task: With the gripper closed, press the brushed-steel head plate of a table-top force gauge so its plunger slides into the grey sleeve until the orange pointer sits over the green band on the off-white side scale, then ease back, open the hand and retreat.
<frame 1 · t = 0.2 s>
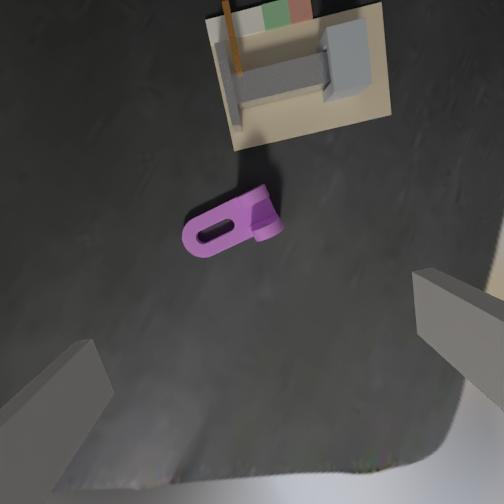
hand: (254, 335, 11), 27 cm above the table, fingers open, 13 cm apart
bracket: (228, 223, 38), on the table
plunger: (280, 58, 30), point 3 cm above the table, slide at 0.0 cm
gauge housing: (215, 102, 34), on the table
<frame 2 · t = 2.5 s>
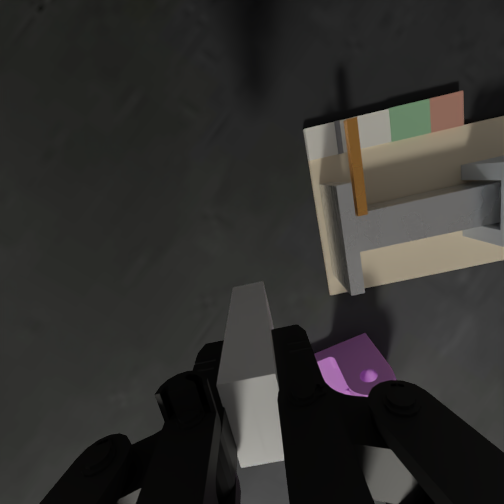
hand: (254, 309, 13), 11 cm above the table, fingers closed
bracket: (313, 377, 28), on the table
plunger: (420, 191, 20), point 3 cm above the table, slide at 0.0 cm
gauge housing: (308, 234, 24), on the table
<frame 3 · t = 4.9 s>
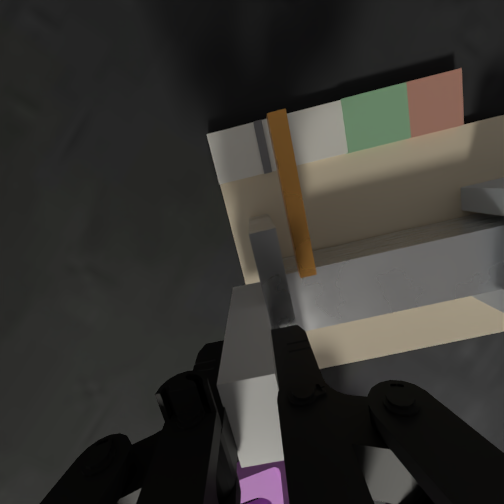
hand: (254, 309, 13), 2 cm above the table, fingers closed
bracket: (259, 482, 20), on the table
plunger: (406, 233, 12), point 3 cm above the table, slide at 0.6 cm, touching gripper
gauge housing: (230, 292, 16), on the table
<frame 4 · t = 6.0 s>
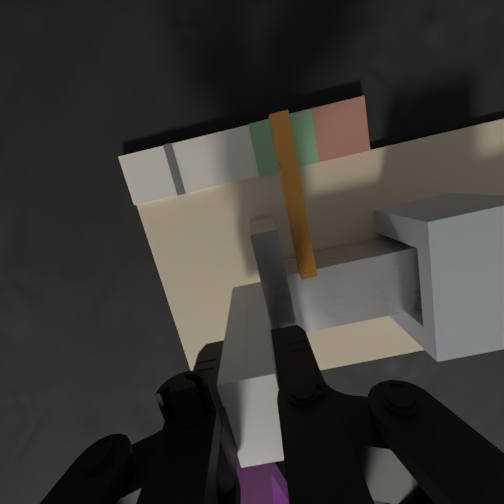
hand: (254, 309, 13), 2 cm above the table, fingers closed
bracket: (197, 494, 20), on the table
plunger: (407, 235, 12), point 3 cm above the table, slide at 5.1 cm, touching gripper
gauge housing: (155, 309, 16), on the table
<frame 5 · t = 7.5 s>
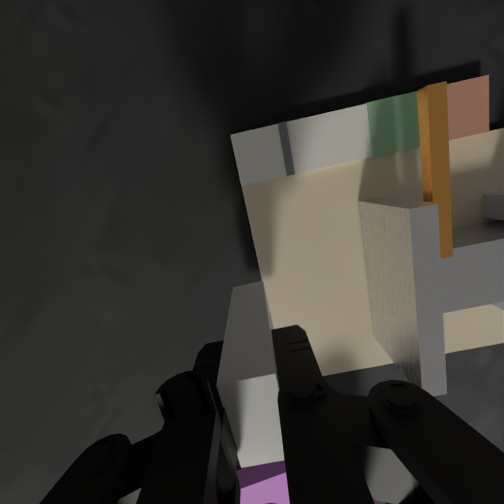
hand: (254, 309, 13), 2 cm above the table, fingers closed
bracket: (269, 487, 20), on the table
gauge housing: (247, 294, 16), on the table
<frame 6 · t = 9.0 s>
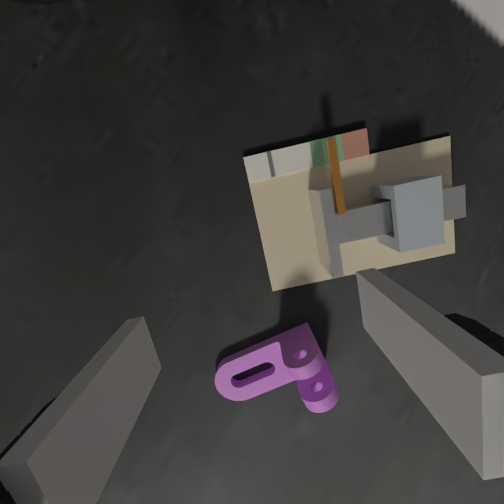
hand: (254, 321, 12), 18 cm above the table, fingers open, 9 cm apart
bracket: (266, 360, 33), on the table
plunger: (388, 195, 25), point 3 cm above the table, slide at 5.2 cm
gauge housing: (252, 240, 29), on the table
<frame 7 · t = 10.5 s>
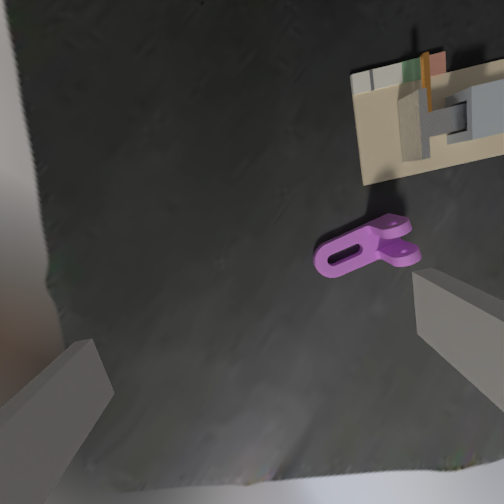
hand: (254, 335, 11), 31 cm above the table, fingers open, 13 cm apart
bracket: (352, 247, 42), on the table
plunger: (462, 100, 34), point 3 cm above the table, slide at 5.2 cm
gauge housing: (350, 144, 38), on the table
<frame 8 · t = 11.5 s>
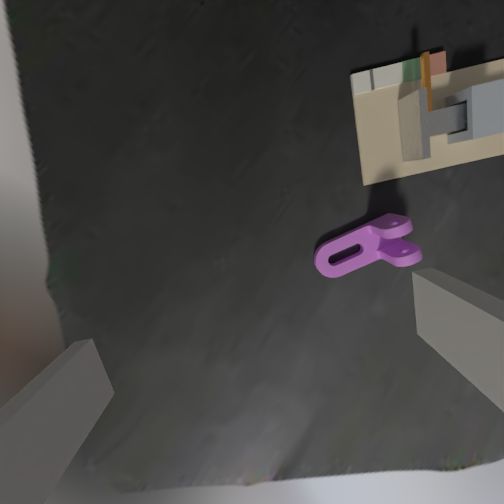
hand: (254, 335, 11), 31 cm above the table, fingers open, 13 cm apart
bracket: (353, 247, 42), on the table
plunger: (462, 99, 34), point 3 cm above the table, slide at 5.2 cm
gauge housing: (350, 143, 38), on the table
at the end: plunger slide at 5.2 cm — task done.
